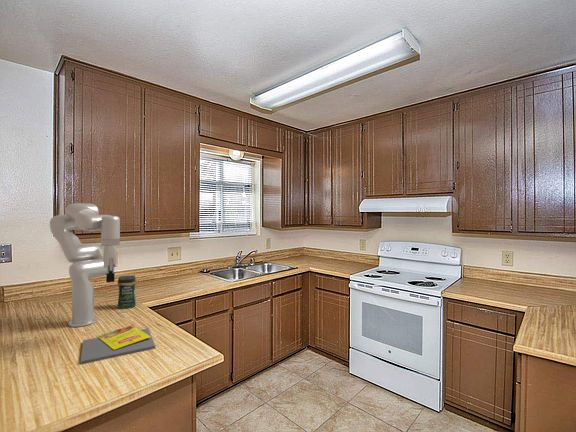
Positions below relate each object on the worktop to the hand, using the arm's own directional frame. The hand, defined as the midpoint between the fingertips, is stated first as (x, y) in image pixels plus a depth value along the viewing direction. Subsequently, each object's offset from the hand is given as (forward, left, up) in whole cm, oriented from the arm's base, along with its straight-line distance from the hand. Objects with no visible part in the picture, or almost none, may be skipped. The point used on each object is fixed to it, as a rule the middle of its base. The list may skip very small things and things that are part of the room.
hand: (110, 281), depth 144 cm
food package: (+2, +2, -23) cm, 23 cm away
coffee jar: (-40, +9, -25) cm, 48 cm away
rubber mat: (+16, +2, -24) cm, 29 cm away
